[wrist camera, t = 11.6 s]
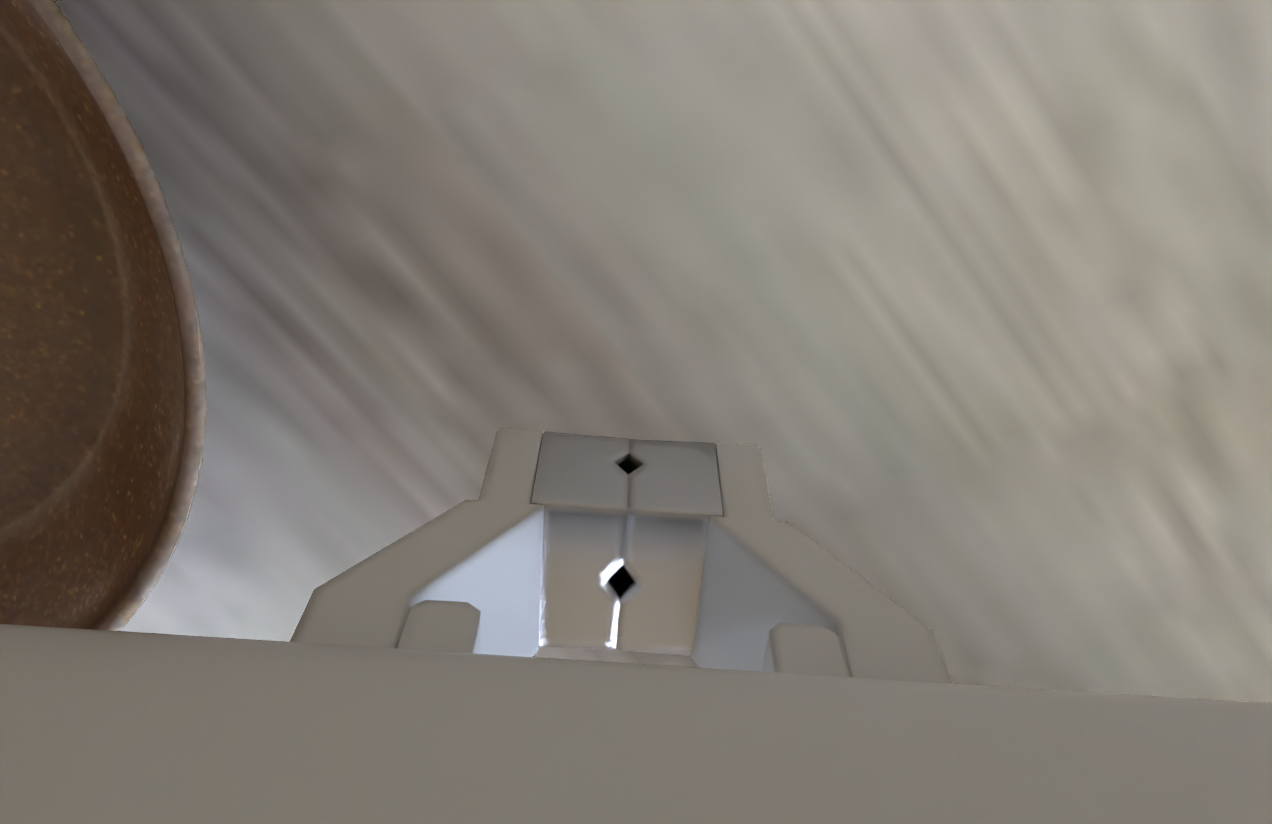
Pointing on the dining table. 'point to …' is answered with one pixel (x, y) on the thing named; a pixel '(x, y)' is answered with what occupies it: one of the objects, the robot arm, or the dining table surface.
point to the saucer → (87, 342)
